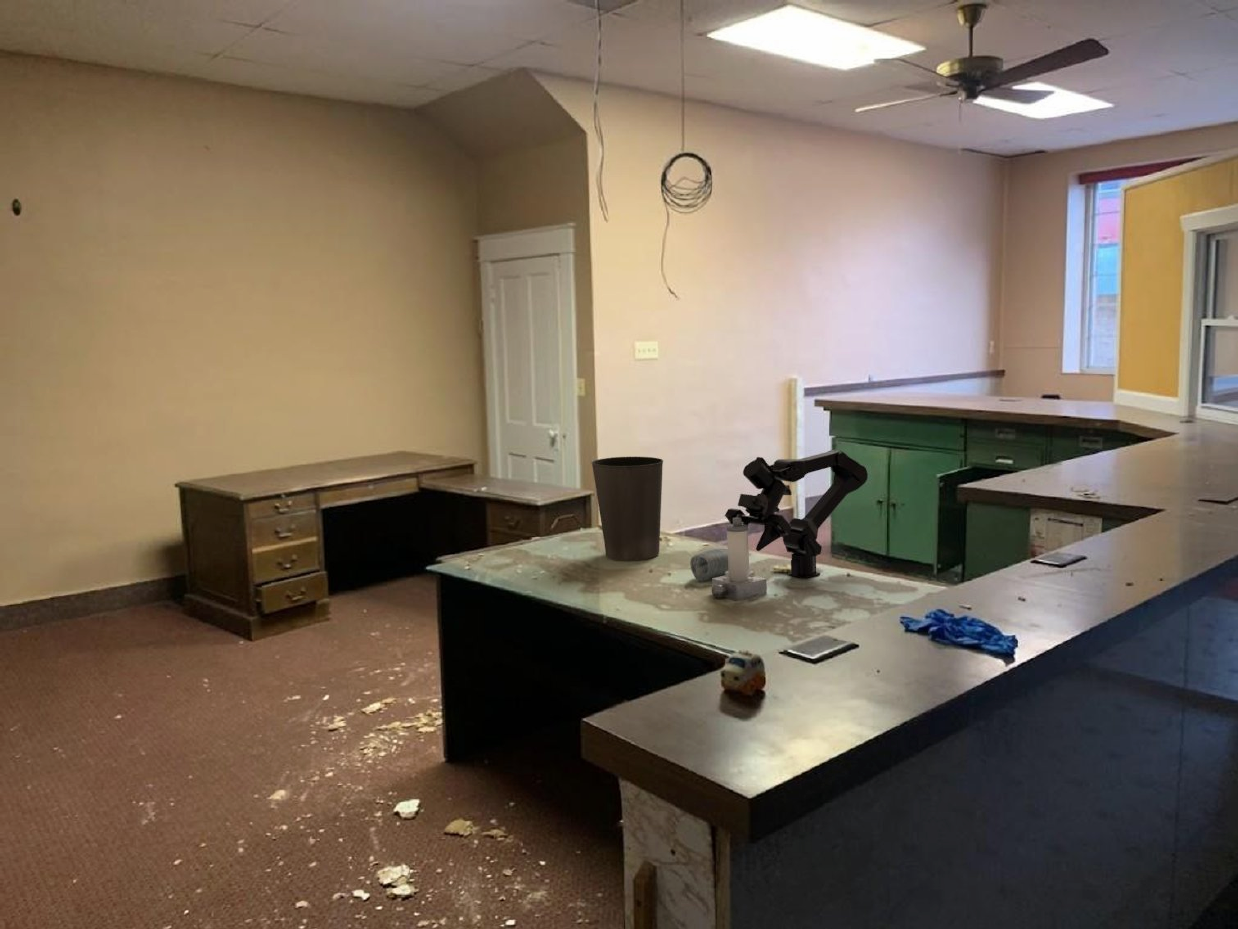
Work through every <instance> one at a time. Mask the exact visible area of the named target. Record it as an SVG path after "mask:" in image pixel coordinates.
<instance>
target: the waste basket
mask: <svg viewBox="0 0 1238 929" xmlns="http://www.w3.org/2000/svg"><path fill="white" fill-rule="evenodd" d="M663 464H664V459H662V458H659V457H651V456H617V457H614V456H613V457H605V458H604V457H603V458H600V459H596V460H592V461H591V466H592V472H593V477H594V478H593V479H594V484H595V489H596V492H595V493H596V497H597V503H598V511H599V517H600V522H601V529H602V536H603V541H604V542H603V543H604V550H605V555H606V559H610V560H612V561H613V560H614V561H618V562H619V561H620V562H630V561H643V560H649V559H652V558H655V557H656V556H658V555H659V554H660V545H661V544H660V541H661V519H662V516H661V515H662V494H663V493H662V490H663Z"/></svg>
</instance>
